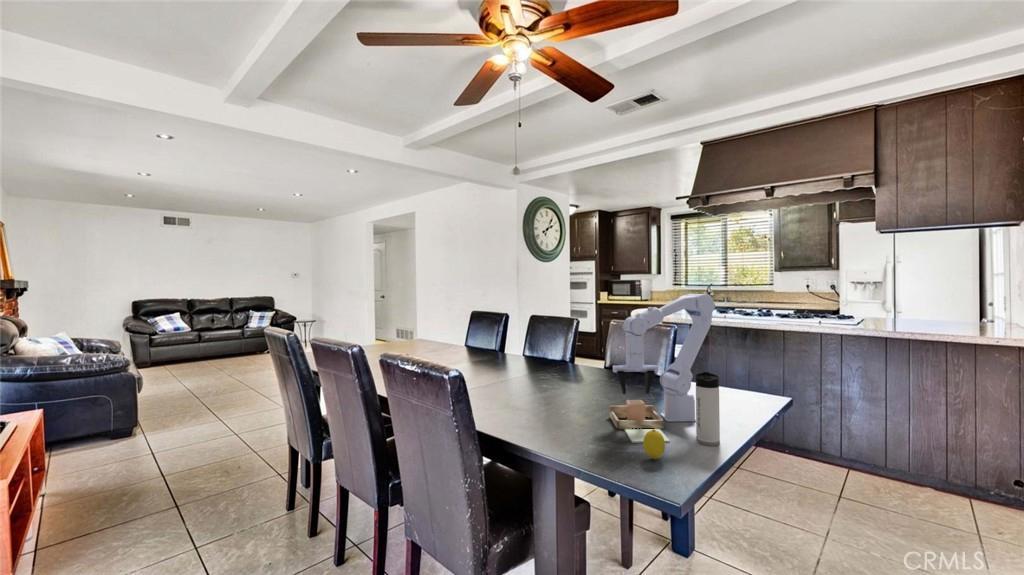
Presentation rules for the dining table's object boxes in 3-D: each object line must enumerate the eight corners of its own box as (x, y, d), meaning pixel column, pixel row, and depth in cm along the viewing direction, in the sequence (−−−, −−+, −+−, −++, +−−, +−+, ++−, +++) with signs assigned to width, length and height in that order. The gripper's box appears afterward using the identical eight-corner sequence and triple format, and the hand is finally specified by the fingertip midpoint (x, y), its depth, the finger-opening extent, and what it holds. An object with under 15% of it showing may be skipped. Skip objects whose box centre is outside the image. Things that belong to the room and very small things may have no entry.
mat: (659, 430, 138) (659, 429, 138) (670, 442, 128) (670, 440, 128) (624, 430, 139) (624, 429, 139) (632, 442, 129) (632, 440, 129)
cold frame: (653, 416, 152) (653, 405, 152) (664, 428, 140) (663, 416, 140) (610, 417, 153) (609, 405, 153) (617, 428, 141) (616, 416, 141)
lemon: (640, 455, 119) (639, 426, 119) (660, 454, 120) (659, 425, 119) (648, 464, 114) (647, 433, 113) (668, 463, 114) (668, 432, 114)
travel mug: (718, 439, 130) (717, 372, 130) (721, 447, 124) (720, 377, 123) (695, 437, 132) (694, 371, 132) (697, 445, 126) (696, 376, 125)
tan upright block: (641, 420, 149) (641, 399, 149) (645, 425, 144) (645, 403, 144) (626, 420, 149) (626, 399, 149) (630, 425, 144) (629, 404, 144)
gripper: (615, 355, 142) (616, 396, 143) (660, 354, 142) (660, 396, 142) (611, 351, 149) (611, 391, 150) (654, 351, 149) (654, 390, 149)
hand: (635, 393), depth 146 cm, fingers open, 7 cm apart
